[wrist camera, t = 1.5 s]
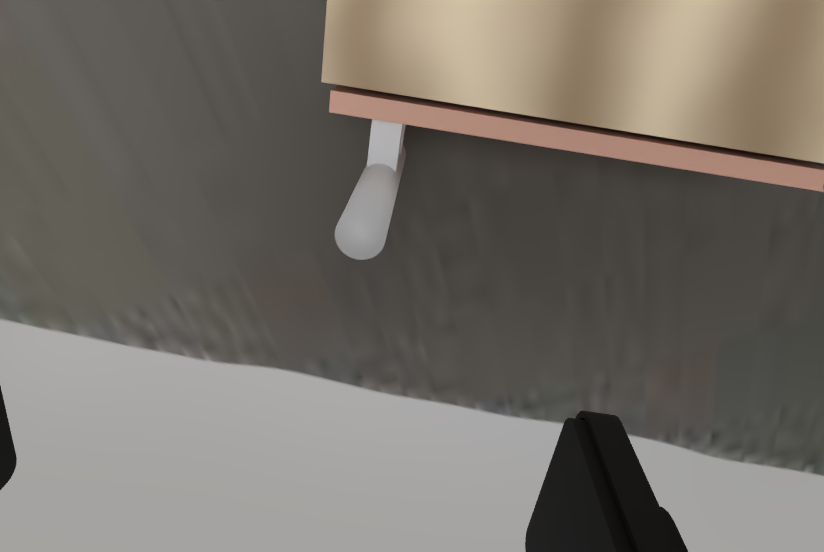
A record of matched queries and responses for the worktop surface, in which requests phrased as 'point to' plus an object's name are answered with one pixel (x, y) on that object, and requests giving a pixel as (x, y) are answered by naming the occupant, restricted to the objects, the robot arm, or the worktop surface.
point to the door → (391, 112)
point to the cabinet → (601, 63)
